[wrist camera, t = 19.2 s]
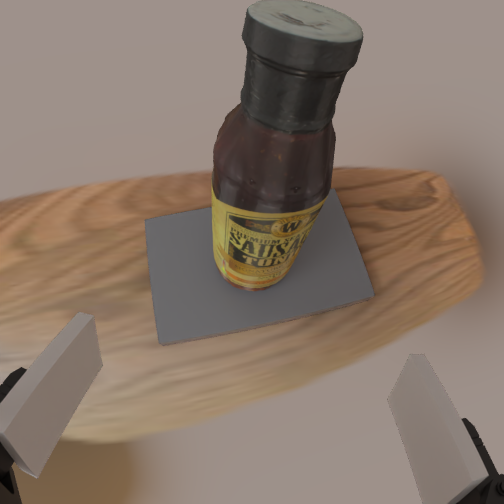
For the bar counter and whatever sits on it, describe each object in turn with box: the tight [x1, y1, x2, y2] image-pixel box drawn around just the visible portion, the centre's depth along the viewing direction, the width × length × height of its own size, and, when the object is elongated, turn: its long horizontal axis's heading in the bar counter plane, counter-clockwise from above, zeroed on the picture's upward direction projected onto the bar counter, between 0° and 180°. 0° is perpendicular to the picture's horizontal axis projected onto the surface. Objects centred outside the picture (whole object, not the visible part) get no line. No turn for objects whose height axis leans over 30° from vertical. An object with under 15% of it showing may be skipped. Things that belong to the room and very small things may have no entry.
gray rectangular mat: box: [145, 189, 375, 346], centre depth 27 cm, size 18×11×2 cm, turn 103°
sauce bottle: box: [211, 0, 363, 291], centre depth 17 cm, size 6×6×20 cm
